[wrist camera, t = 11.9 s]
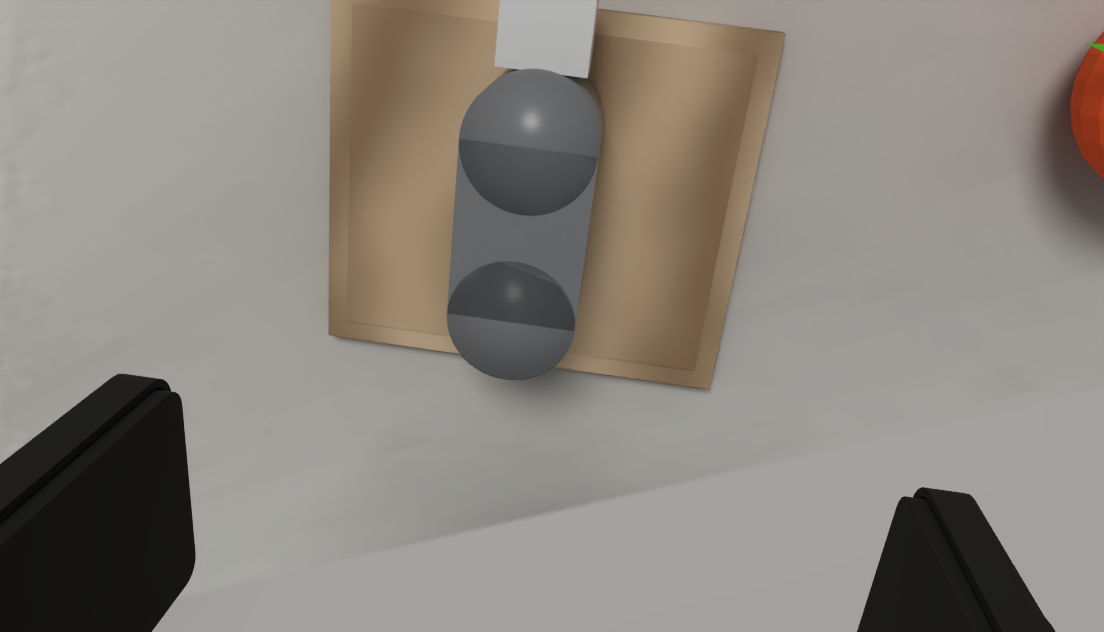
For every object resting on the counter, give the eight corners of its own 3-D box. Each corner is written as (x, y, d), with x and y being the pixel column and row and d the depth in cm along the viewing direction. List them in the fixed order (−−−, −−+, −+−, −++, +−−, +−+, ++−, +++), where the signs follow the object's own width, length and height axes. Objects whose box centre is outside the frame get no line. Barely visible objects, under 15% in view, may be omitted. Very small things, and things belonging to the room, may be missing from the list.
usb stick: (575, 330, 34) (566, 388, 29) (468, 315, 34) (443, 370, 30) (621, -4, 29) (618, 3, 24) (495, -20, 29) (469, -16, 25)
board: (781, 31, 30) (786, 34, 29) (708, 380, 35) (710, 390, 35) (338, -25, 30) (330, -24, 30) (334, 327, 36) (327, 335, 35)
